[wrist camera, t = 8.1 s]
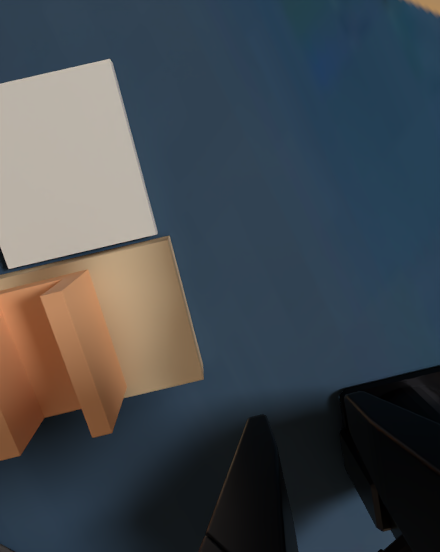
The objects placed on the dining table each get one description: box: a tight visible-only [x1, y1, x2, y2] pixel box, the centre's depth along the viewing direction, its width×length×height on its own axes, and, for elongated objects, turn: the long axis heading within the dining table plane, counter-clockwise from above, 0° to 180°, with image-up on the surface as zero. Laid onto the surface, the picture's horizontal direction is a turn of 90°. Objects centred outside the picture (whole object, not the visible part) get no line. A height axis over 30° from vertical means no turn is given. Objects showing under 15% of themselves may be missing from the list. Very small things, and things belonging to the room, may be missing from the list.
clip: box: [0, 269, 127, 461], centre depth 16 cm, size 4×6×4 cm
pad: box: [0, 59, 158, 269], centre depth 17 cm, size 7×8×1 cm
